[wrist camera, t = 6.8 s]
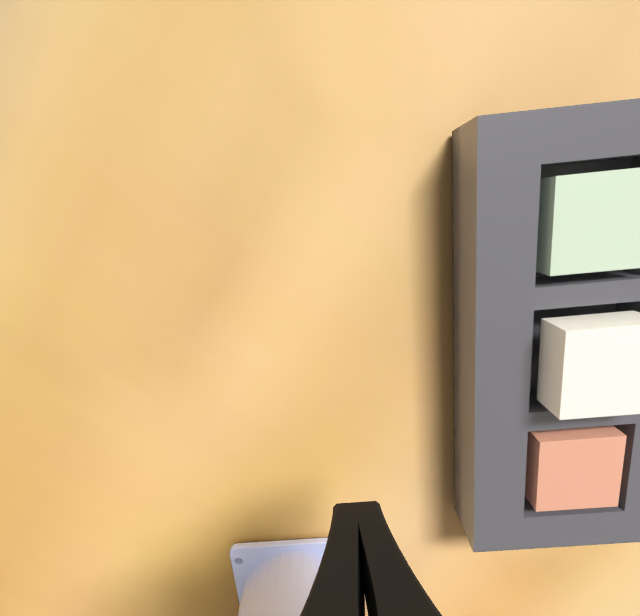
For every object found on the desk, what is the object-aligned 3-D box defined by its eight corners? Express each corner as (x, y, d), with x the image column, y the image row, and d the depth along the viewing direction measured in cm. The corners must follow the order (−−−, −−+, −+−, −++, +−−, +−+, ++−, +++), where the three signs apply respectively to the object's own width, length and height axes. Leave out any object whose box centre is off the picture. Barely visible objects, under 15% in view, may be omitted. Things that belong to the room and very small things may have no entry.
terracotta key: (593, 480, 20) (617, 506, 19) (518, 486, 21) (535, 511, 19) (599, 415, 19) (626, 435, 18) (521, 421, 20) (539, 442, 18)
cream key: (623, 392, 18) (656, 412, 16) (536, 399, 18) (559, 420, 16) (633, 310, 17) (669, 322, 15) (541, 318, 17) (565, 331, 15)
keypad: (625, 496, 22) (669, 539, 19) (454, 508, 23) (473, 552, 20) (676, 107, 17) (748, 86, 14) (452, 131, 17) (477, 115, 14)
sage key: (616, 261, 17) (648, 267, 16) (527, 269, 18) (550, 276, 16) (625, 169, 16) (661, 165, 15) (531, 179, 16) (556, 176, 15)
